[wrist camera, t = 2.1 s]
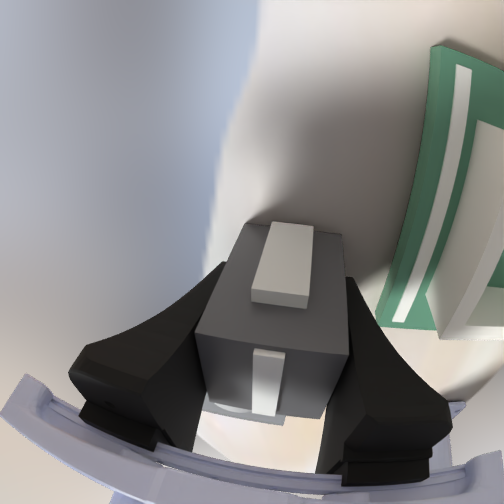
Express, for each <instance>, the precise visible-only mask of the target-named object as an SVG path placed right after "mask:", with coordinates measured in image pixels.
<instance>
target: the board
mask: <svg viewBox="0 0 504 504" xmlns="http://www.w3.org/2000/svg"><path fill="white" fill-rule="evenodd" d="M375 314H376V322H377V323H378V325H379V327H391V328H404V329H420V330H437V333H438V336H439V339H441V340H504V71H503V70H500V69H498V68H496V67H494V66H492V65H490V64H488V63H485V62H483V61H481V60H478V59H476V58H474V57H471V56H469V55H466V54H464V53H461V52H458V51H456V50H453V49H450V48H447V47H444V46H441V45H440V46H435V47H431V49H430V69H429V83H428V94H427V103H426V112H425V120H424V127H423V134H422V140H421V146H420V152H419V157H418V163H417V168H416V173H415V178H414V182H413V187H412V191H411V196H410V200H409V204H408V208H407V212H406V216H405V220H404V224H403V227H402V231H401V235H400V238H399V242H398V245H397V248H396V252H395V255H394V258H393V261H392V265H391V268H390V271H389V274H388V277H387V280H386V283H385V286H384V289H383V291H382V294H381V297H380V300H379V303H378V305H377V308H376V311H375Z"/></svg>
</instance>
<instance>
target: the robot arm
mask: <svg viewBox="0 0 504 504" xmlns="http://www.w3.org/2000/svg"><path fill="white" fill-rule="evenodd" d="M225 264H226V262H224V261H223V262H221V263H220V264H219V265H218V266H217V267H216V268H215V269H214V270H213V271H212V272H210V273H209V274H208V275H207V276H206V277H205V278H204V279H203V280H202V281H201V282H199V283H198V284H197V285H196V286H195V287H194V288H193V289H191V290H190V291H189V292H188V293H187V294H185V295H184V296H183V297H181V298H180V299H179V300H178V301H176V302H175V303H174V304H172V305H171V306H169V307H168V308H167V309H165V310H164V311H162V312H160V313H159V314H157V315H156V316H154V317H152V318H150V319H149V320H147V321H145V322H143V323H141V324H139V325H137V326H135V327H133V328H131V329H129V330H127V331H125V332H122V333H120V334H117V335H115V336H112V337H110V338H107V339H104V340H101V341H98V342H95V343H91V344H88V345H86V346H85V347H84V349H83V350H82V351H81V353H80V355H79V356H78V357H77V359H76V360H75V362H74V363H73V365H72V367H71V368H70V370H69V372H68V373H69V377H70V380H71V381H72V383H73V384H74V386H75V387H76V388H77V389H78V391H79V392H80V393H81V394H82V396H83V397H84V398H85V399H86V400H87V401H86V402H85V404H84V406H83V408H82V410H80V409H78V408H76V407H74V406H72V405H71V404H69V403H67V402H65V401H63V400H61V399H59V398H57V397H56V396H54V395H53V393H52V392H51V391H50V389H49V388H47V387H46V386H45V385H44V384H43V383H42V382H40V381H38V380H36V379H35V378H33V377H32V376H30V375H29V374H25V375H24V376H23V378H22V379H21V381H20V382H19V384H18V385H17V387H16V389H15V390H14V392H13V393H12V395H11V396H10V398H9V399H8V401H7V403H6V404H5V406H4V407H3V409H2V411H1V412H0V417H2V418H3V419H4V420H5V421H6V422H7V423H9V424H10V425H11V426H12V427H13V428H15V429H16V430H17V431H18V432H20V433H21V434H22V435H23V436H25V437H26V438H27V439H29V440H30V441H31V442H33V443H34V444H36V445H37V446H38V447H40V448H41V449H42V450H44V451H45V452H47V453H48V454H50V455H51V456H53V457H54V458H56V459H57V460H59V461H60V462H62V463H64V464H65V465H67V466H68V467H70V468H72V469H73V470H75V471H77V472H79V473H80V474H82V475H84V476H86V477H88V478H89V479H91V480H93V481H95V482H97V483H99V484H101V485H103V486H105V487H107V488H109V489H111V490H113V491H114V494H113V496H112V499H111V501H110V503H109V504H504V470H503V461H502V453H501V450H498V451H495V452H490V453H486V454H482V455H479V456H477V457H474V458H473V459H471V460H469V461H468V462H467V463H466V464H462V465H457V466H452V455H451V445H450V435H449V433H450V432H451V430H452V428H453V426H452V419H453V418H454V417H455V416H456V415H457V414H459V413H460V412H461V411H462V410H463V409H464V408H465V406H466V403H465V402H464V401H461V402H448V401H447V400H446V399H445V398H444V397H442V396H441V395H440V394H439V393H437V392H436V391H435V390H434V389H433V388H431V387H430V386H429V385H428V384H427V383H426V382H425V381H424V380H423V379H422V378H421V377H419V376H418V375H417V374H416V373H415V371H414V370H413V369H412V368H411V367H410V366H409V365H408V364H407V363H406V362H405V361H404V359H403V358H402V357H401V356H400V355H399V354H398V352H397V351H396V350H395V348H394V347H393V346H392V344H391V343H390V342H389V340H388V339H387V337H386V336H385V334H384V333H383V331H382V330H381V328H380V327H379V325H378V323H377V322H376V320H375V318H374V317H373V315H372V313H371V311H370V310H369V308H368V306H367V304H366V302H365V300H364V298H363V296H362V295H361V293H360V290H359V288H358V286H357V284H356V282H355V280H354V279H353V277H345V280H346V295H347V313H348V339H349V356H348V358H347V361H346V363H345V365H344V368H343V370H342V372H341V375H340V377H339V379H338V382H337V384H336V386H335V388H334V390H333V393H332V395H331V397H330V399H329V401H328V403H327V406H326V414H325V421H324V428H323V434H322V440H321V446H320V452H319V457H318V462H317V466H316V471H315V474H313V473H301V472H291V471H282V470H275V469H268V468H261V467H255V466H249V465H244V464H239V463H234V462H229V461H224V460H220V459H216V458H211V457H207V456H203V455H199V454H196V453H192V450H193V446H194V441H195V436H196V432H197V428H198V424H199V420H200V415H201V411H202V407H203V404H204V400H205V396H206V393H207V389H206V385H205V380H204V376H203V371H202V367H201V362H200V357H199V353H198V348H197V343H196V338H195V333H194V332H195V330H196V328H197V326H198V323H199V321H200V319H201V317H202V315H203V312H204V310H205V308H206V306H207V304H208V301H209V299H210V297H211V295H212V293H213V290H214V288H215V286H216V284H217V282H218V280H219V277H220V275H221V273H222V271H223V269H224V267H225ZM156 462H157V463H156ZM159 463H160V464H159ZM161 464H163V465H166V466H169V467H172V468H175V469H172V468H166V467H163V466H162V465H161ZM176 469H178V470H176ZM180 470H181V471H180ZM184 471H185V472H184ZM191 473H192V474H191ZM198 475H199V476H198ZM202 476H203V477H202ZM218 480H219V481H218ZM227 482H228V483H227ZM247 486H248V487H247ZM253 487H254V488H253ZM259 488H260V489H259ZM272 490H274V491H272ZM278 491H282V492H278ZM284 492H291V493H302V494H317V495H324V496H323V497H322V500H321V499H311V498H303V497H298V496H296V495H293V494H289V493H284Z"/></svg>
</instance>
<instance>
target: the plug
mask: <svg viewBox="0 0 504 504" xmlns="http://www.w3.org/2000/svg"><path fill="white" fill-rule="evenodd" d="M194 333H195V338H196V343H197V348H198V353H199V357H200V362H201V367H202V371H203V376H204V380H205V385H206V389H207V393H208V397H209V402H213V403H217V404H222V405H227V406H232V407H237V408H242V409H247V410H252V413H255V414H261V415H267V416H274V417H275V414H278V415H286V416H294V417H302V418H312V419H320V418H321V416H322V414H323V412H324V410H325V407H326V405H327V403H328V401H329V399H330V397H331V395H332V393H333V390H334V388H335V386H336V384H337V382H338V379H339V377H340V375H341V372H342V370H343V368H344V365H345V363H346V361H347V358H348V356H349V339H348V313H347V295H346V280H345V267H344V256H343V245H342V236H341V234H333V233H325V232H317V231H313V226H309V225H300V224H292V223H283V222H273V221H272V224H271V226H264V225H255V224H244V226H243V228H242V230H241V232H240V234H239V237H238V239H237V241H236V243H235V245H234V247H233V249H232V252H231V254H230V256H229V258H228V260H227V262H226V264H225V267H224V269H223V271H222V273H221V275H220V277H219V280H218V282H217V284H216V286H215V288H214V290H213V293H212V295H211V297H210V299H209V301H208V304H207V306H206V308H205V310H204V312H203V315H202V317H201V319H200V321H199V323H198V326H197V328H196V330H195V332H194Z"/></svg>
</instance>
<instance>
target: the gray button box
mask: <svg viewBox="0 0 504 504" xmlns="http://www.w3.org/2000/svg"><path fill="white" fill-rule="evenodd" d="M202 411H206V412H211V413H215V414H219V415H224V416H229V417H234V418H239V419H244V420H249V421H255V422H261V423H267V424H274V425H281V426H283V424H284V421H285V417H286V415H278V414H275V417H274V416H267V415H261V414H255V413H252V410H247V409H242V408H237V407H232V406H227V405H222V404H217V403H213V402H209V397H208V393H206V396H205V400H204V404H203V407H202Z"/></svg>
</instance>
